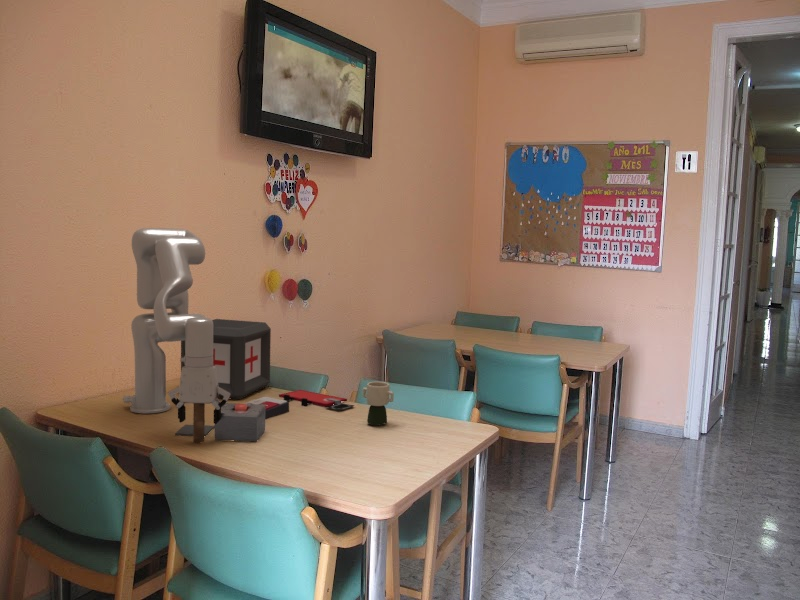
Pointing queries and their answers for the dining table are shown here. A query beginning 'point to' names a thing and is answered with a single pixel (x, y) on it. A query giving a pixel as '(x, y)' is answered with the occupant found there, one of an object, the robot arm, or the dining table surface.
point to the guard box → (241, 423)
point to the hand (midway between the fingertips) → (199, 421)
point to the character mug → (377, 401)
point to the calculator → (272, 406)
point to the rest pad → (188, 430)
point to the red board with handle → (315, 399)
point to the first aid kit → (240, 356)
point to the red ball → (240, 407)
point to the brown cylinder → (199, 423)
